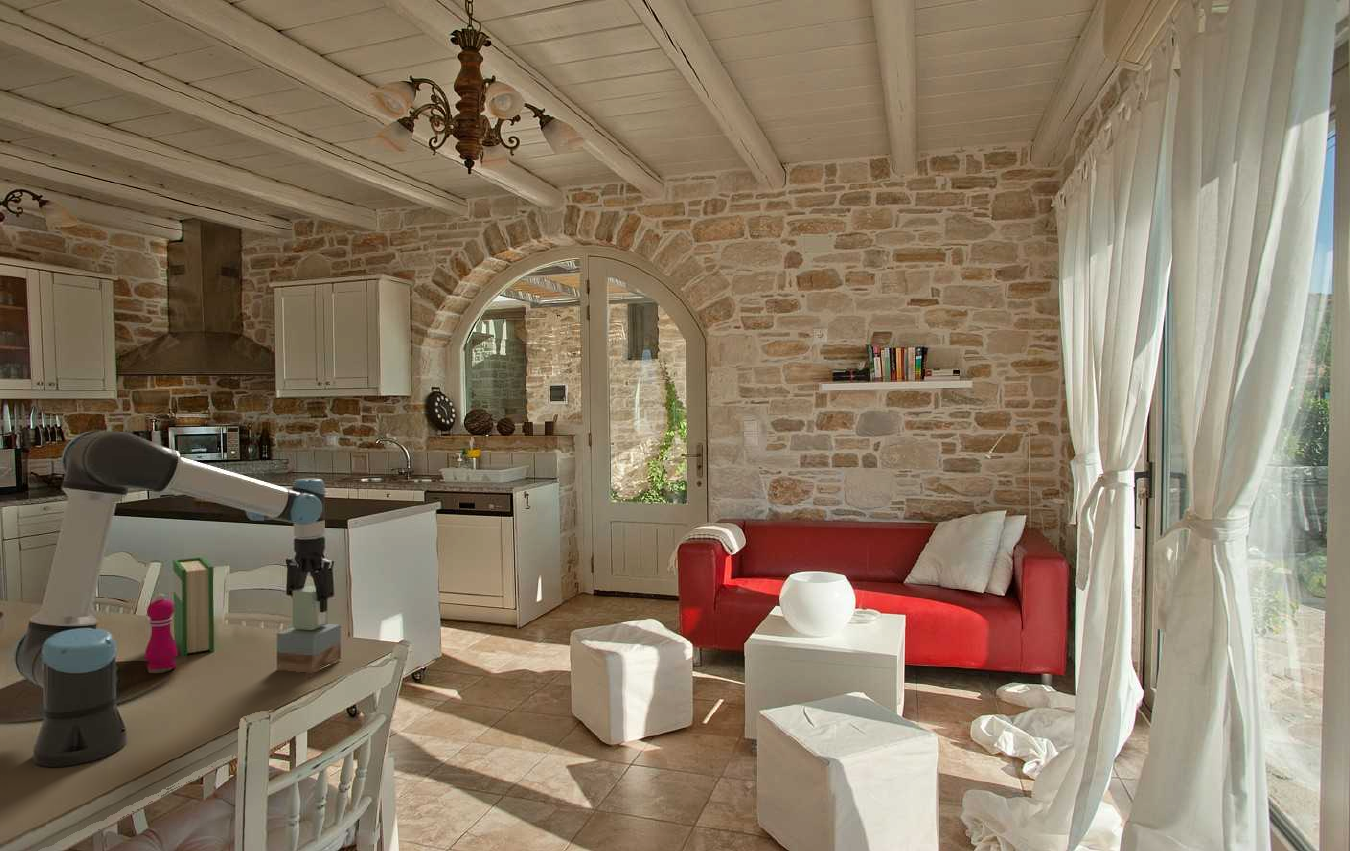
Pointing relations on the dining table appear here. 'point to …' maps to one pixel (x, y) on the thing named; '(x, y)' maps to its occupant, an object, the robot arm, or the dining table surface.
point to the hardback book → (193, 605)
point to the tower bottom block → (308, 660)
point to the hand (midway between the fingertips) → (310, 622)
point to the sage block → (306, 609)
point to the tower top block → (308, 640)
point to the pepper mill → (161, 635)
